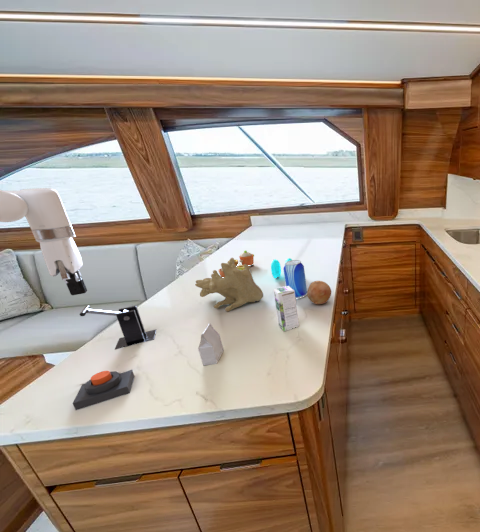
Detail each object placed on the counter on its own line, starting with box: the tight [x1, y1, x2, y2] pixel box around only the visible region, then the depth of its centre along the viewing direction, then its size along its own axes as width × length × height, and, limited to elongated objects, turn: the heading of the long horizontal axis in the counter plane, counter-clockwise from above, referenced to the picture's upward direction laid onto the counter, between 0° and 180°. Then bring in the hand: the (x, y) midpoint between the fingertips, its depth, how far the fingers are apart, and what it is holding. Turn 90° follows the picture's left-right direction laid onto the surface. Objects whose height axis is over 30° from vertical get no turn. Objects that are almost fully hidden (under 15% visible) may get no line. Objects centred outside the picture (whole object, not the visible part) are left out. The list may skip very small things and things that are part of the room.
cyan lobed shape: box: [270, 257, 293, 279], centre depth 155 cm, size 10×10×10 cm
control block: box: [72, 369, 135, 411], centre depth 77 cm, size 10×8×4 cm
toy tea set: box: [217, 250, 255, 277], centre depth 166 cm, size 26×16×10 cm, turn 15°
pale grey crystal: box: [198, 323, 224, 367], centre depth 89 cm, size 4×7×10 cm, turn 15°
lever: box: [79, 305, 131, 317], centre depth 94 cm, size 12×6×2 cm, turn 123°
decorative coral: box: [195, 257, 264, 313], centre depth 124 cm, size 26×22×25 cm
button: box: [90, 370, 112, 385], centre depth 76 cm, size 4×4×2 cm
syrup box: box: [272, 285, 300, 332], centre depth 105 cm, size 6×6×14 cm
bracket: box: [114, 305, 157, 350], centre depth 98 cm, size 10×8×12 cm
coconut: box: [306, 280, 332, 305], centre depth 124 cm, size 10×10×10 cm
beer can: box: [283, 259, 308, 298], centre depth 130 cm, size 8×8×16 cm
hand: (79, 293), depth 89 cm, fingers closed
